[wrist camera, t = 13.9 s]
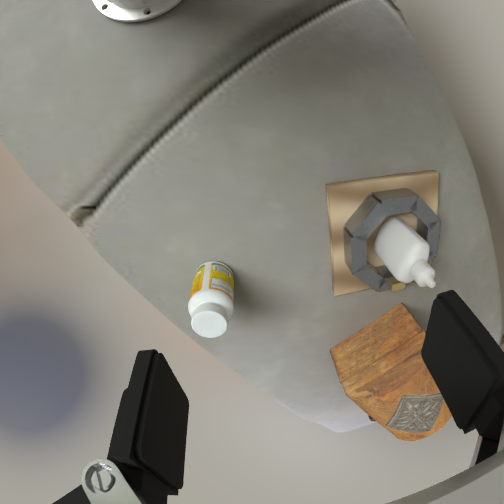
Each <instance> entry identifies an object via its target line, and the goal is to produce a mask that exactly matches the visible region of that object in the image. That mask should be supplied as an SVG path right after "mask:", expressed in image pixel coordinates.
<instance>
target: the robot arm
mask: <svg viewBox="0 0 504 504" xmlns="http://www.w3.org/2000/svg"><path fill="white" fill-rule="evenodd" d="M92 1H93V3H94V5H95V7H96V8H97V9H98V10H99V11H100V12H101V13H102V14H103V15H105V16H107V17H109V18H111V19H113V20H116V21H121V22H139V21H145V20H148V19H152V18H155V17H157V16H159V15H162V14H164V13H165V12H167V11H169V10H170V9H172V8H174V7H175V6H176V5H177V4H179V3H180V2H181V1H182V0H92ZM107 7H108V8H107ZM106 8H107V9H106ZM148 12H151V13H150V14H149V15H147V13H148ZM421 356H422V359H423V361H424V363H425V365H426V367H427V368H428V370H429V372H430V374H431V376H432V378H433V379H434V381H435V383H436V385H437V387H438V389H439V391H440V393H441V395H442V397H443V398H444V400H445V402H446V404H447V406H448V408H449V410H450V412H451V414H452V416H453V418H454V421H455V422H456V425H457V426H458V427H459V428H460V429H463V431H464V433H465V434H466V433H468V432H470V431H472V430H474V429H475V428H476V429H477V431H478V433H479V436H478V440H477V444H476V448H475V451H474V455H473V458H472V461H471V464H470V467H469V469H467V470H465V471H463V472H461V473H459V474H457V475H455V476H453V477H451V478H449V479H447V480H445V481H443V482H440V483H438V484H436V485H434V486H431V487H429V488H427V489H424V490H422V491H419V492H417V493H414V494H412V495H409V496H407V497H404V498H401V499H398V500H395V501H393V502H390V503H387V504H504V352H503V351H502V349H501V348H500V347H499V345H498V344H497V343H496V341H495V340H494V339H493V337H492V336H491V335H490V333H489V332H488V331H487V330H486V328H485V327H484V326H483V324H482V323H481V322H480V321H479V319H478V318H477V317H476V316H475V315H474V313H473V312H472V311H471V310H470V308H469V307H468V306H467V305H466V304H465V302H464V301H463V300H462V299H461V298H460V297H459V295H458V294H457V293H456V292H455V291H454V290H450V291H446V292H443V293H440V294H438V295H437V297H436V299H435V300H434V301H433V305H432V310H431V314H430V319H429V323H428V327H427V331H426V335H425V339H424V342H423V346H422V350H421ZM188 412H189V402H188V398H187V396H186V394H185V393H184V391H183V390H182V388H181V386H180V384H179V382H178V381H177V379H176V377H175V376H174V374H173V372H172V370H171V368H170V367H169V365H168V363H167V361H166V359H165V357H164V355H163V354H162V353H158V352H157V350H155V349H153V350H144V351H139V352H138V354H137V357H136V360H135V364H134V367H133V371H132V375H131V378H130V382H129V386H128V388H127V389H126V390H124V392H123V395H122V398H121V402H120V406H119V410H118V414H117V418H116V422H115V426H114V430H113V434H112V438H111V443H110V447H109V452H108V457H107V460H106V459H96V460H94V461H91V462H90V463H89V464H88V465H86V467H85V468H84V470H83V472H82V475H81V483H82V484H81V485H80V486H78V487H77V488H76V489H74V490H73V491H71V492H69V493H68V494H66V495H65V496H64V497H62V498H61V499H59V500H57V501H56V502H54V503H53V504H167V496H168V495H178V489H181V488H182V487H183V476H184V461H185V448H186V436H187V423H188Z"/></svg>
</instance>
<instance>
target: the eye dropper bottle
mask: <svg viewBox="0 0 504 504" xmlns="http://www.w3.org/2000/svg"><path fill="white" fill-rule="evenodd" d="M374 250H375V253H376V254H377V255H378V256H379V258H380V259H381V260H382V262H383V263H384V264H385V266H386V267H387V268H388V269H389V271H390V272H391V273H392V275H393V276H394V277H395V278H396V279H397V280H398V281H400V282H403V283H409V282H411V281H413V280H415V282H416V283H417V284H418V285H419V286H420V287H426V286H429V287H430V288H433V287H435V282H434V278H435V271H434V269H433V268H432V267H431V266H430V265H429V264H428V263H427V261H428V257H429V250H430V248H429V244H428V243H427V242H426V241H425V240H424V239H423V238H422V237H421V236H420V235H419V234H418V233H417V232H416V231H415V230H413V229H412V228H411V227H410V226H409V225H408V224H407V223H406V222H405V221H403V220H402V219H400V218H398V217H395V216H391V217H390V218H389V219H387V220H386V222H385V223H384V224H383V225H382V227H381V228H380V230H379V232H378V234H377V236H376V239H375V244H374Z"/></svg>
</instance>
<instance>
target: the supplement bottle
mask: <svg viewBox="0 0 504 504" xmlns="http://www.w3.org/2000/svg"><path fill="white" fill-rule="evenodd" d="M188 310H189V313H190V315H191V317H192V320H191V325H192V328H193V330H194V331H195V332H196V333H197V334H199V335H201V336H203V337H207V338H214V337H218V336H220V335H222V334H223V333H224V332H225V331H226V329H227V324H228V321H229V320H230V318H231V317H232V315H233V311H234V276H233V273H232V271H231V269H230V268H229V267H228V266H226V265H225V264H223V263H221V262H217V261H210V262H206V263H204V264H202V265H201V266H200V267H199V268H198V269H197V270H196V272H195V274H194V279H193V284H192V289H191V294H190V299H189V304H188Z"/></svg>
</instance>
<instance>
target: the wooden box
mask: <svg viewBox="0 0 504 504" xmlns="http://www.w3.org/2000/svg"><path fill="white" fill-rule="evenodd" d="M425 335H426V333H425V332H424V331H423V330H422V329H421V327H420V326H419V324H418V323H417V322H416V320H415V319H414V318H413V316H412V315H411V314H410V312H409V311H408V310H407V308H406V307H405V306H404V305H403V303H400V304H399V305H398V306H396V307H395V308H393V309H392V310H390V311H389V312H387V313H386V314H384V315H383V316H381V317H380V318H378V319H377V320H375V321H374V322H372V323H371V324H369V325H368V326H366V327H365V328H363V329H362V330H360V331H359V332H357V333H356V334H354V335H353V336H351V337H349V338H348V339H346V340H345V341H343V342H341V343H340V344H338V345H337V346H335V347H333V348H331V349H330V353H331V356H332V359H333V362H334V365H335V368H336V371H337V374H338V377H339V380H340V383H341V384H342V385H343V388H344V391H345V393H346V395H347V396H348V397H349V398H350V399H352V400H353V401H354V402H355V403H356V404H357V405H358V406H359V407H360V408H361V409H362V410H364V411H365V412H366V413H367V414H368V415H369V419H370V420H371V421H377V422H378V423H379V424H381V425H382V426H383V427H384V428H386V429H387V430H388V431H390V432H391V433H392V434H393V435H395V436H396V437H397V438H398V439H401V440H405V441H415V440H420V439H423V438H425V437H427V436H429V435H431V434H433V433H434V432H436V431H437V430H439V429H440V428H442V427H443V426H444V425H445V423H446V422H447V421H448V420H449V419H450V418H451V416H452V414H451V412H450V410H449V408H448V406H447V404H446V402H445V400H444V398H443V397H442V395H441V393H440V391H439V389H438V387H437V385H436V383H435V381H434V379H433V378H432V376H431V374H430V372H429V370H428V368H427V367H426V365H425V363H424V361H423V359H422V356H421V350H422V346H423V342H424V339H425Z"/></svg>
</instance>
